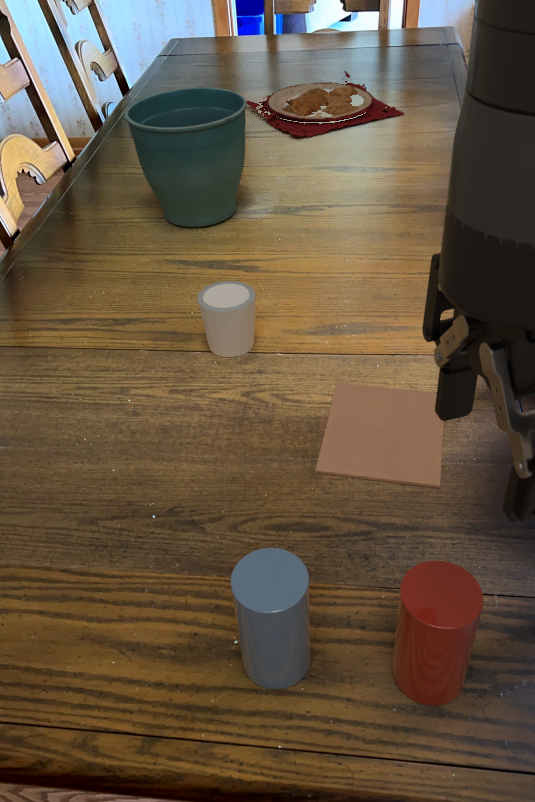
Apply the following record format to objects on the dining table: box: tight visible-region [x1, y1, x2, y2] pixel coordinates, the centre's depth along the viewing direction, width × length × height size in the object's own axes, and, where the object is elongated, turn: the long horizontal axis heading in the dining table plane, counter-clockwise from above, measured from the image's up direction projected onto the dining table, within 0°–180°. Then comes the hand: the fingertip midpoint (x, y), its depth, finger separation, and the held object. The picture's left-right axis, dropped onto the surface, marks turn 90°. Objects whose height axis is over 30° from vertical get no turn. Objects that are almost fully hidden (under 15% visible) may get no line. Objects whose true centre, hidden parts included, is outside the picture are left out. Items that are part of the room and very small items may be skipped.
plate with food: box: [246, 70, 405, 138], centre depth 150 cm, size 24×26×4 cm
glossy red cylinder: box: [391, 559, 484, 707], centre depth 51 cm, size 5×5×10 cm
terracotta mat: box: [314, 382, 445, 489], centre depth 74 cm, size 12×14×1 cm
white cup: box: [196, 280, 256, 358], centre depth 86 cm, size 7×7×7 cm
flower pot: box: [124, 87, 248, 228], centre depth 112 cm, size 18×18×17 cm
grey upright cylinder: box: [230, 547, 312, 690], centre depth 52 cm, size 5×5×10 cm
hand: (484, 460), depth 42 cm, fingers open, 8 cm apart
